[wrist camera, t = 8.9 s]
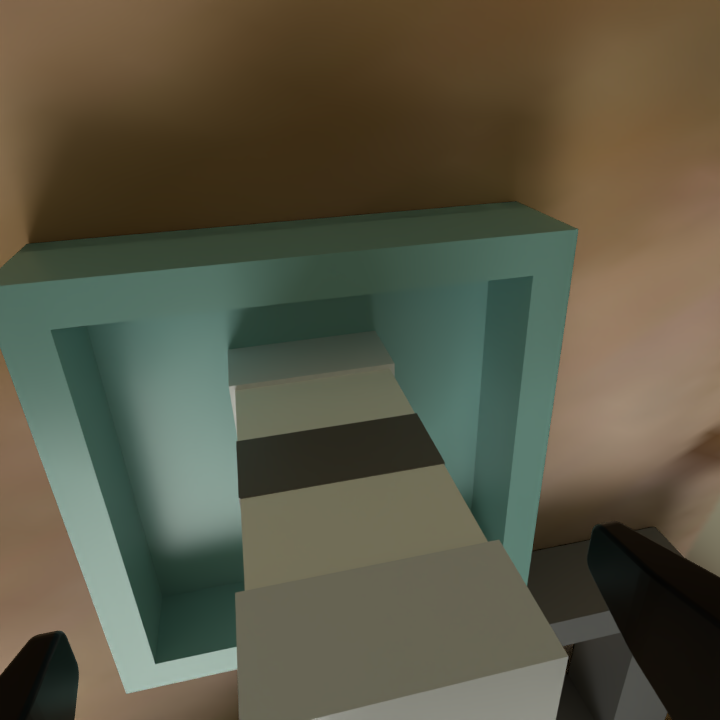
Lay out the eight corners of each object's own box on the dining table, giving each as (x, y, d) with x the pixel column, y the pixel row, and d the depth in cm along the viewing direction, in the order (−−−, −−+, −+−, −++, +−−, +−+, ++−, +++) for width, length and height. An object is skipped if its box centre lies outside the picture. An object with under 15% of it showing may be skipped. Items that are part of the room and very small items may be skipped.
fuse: (374, 330, 13) (568, 656, 6) (380, 510, 15) (519, 894, 8) (227, 349, 12) (239, 736, 5) (258, 533, 14) (293, 966, 7)
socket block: (655, 526, 19) (712, 587, 17) (613, 679, 22) (655, 745, 20) (421, 574, 17) (450, 647, 15) (418, 728, 21) (441, 804, 19)
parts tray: (516, 201, 13) (578, 229, 10) (485, 537, 17) (523, 605, 15) (26, 243, 11) (-22, 287, 9) (139, 605, 15) (126, 693, 13)
